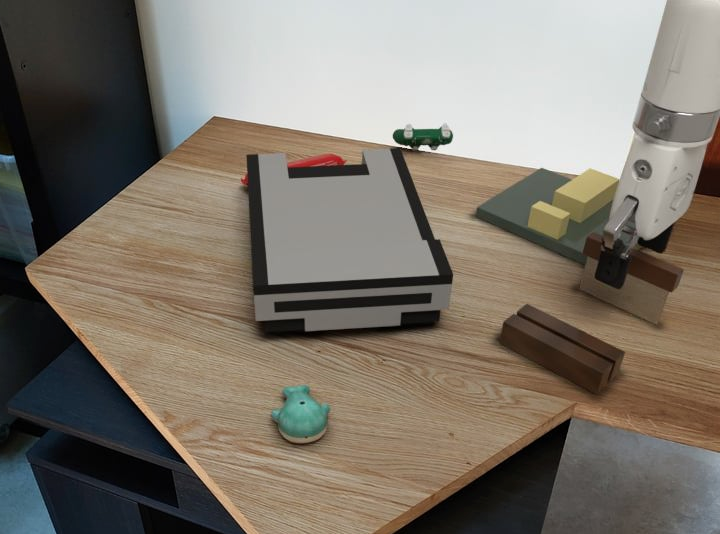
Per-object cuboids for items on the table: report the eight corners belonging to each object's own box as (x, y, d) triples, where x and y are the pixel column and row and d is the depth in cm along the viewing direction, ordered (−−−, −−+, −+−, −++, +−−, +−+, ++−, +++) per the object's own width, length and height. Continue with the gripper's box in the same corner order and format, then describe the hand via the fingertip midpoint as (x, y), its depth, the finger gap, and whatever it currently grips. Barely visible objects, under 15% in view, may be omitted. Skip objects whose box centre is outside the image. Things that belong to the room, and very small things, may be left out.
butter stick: (614, 199, 107) (619, 178, 105) (580, 223, 102) (585, 202, 100) (585, 187, 109) (590, 168, 107) (550, 211, 104) (554, 190, 102)
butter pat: (565, 233, 100) (570, 213, 98) (557, 239, 99) (562, 219, 97) (535, 221, 102) (540, 200, 100) (527, 226, 101) (531, 206, 99)
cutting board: (667, 226, 104) (670, 216, 103) (607, 275, 96) (610, 265, 95) (539, 176, 114) (541, 167, 113) (475, 216, 106) (476, 206, 105)
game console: (397, 194, 110) (400, 139, 104) (445, 335, 86) (453, 274, 81) (249, 201, 108) (245, 145, 103) (257, 347, 85) (253, 285, 79)
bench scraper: (664, 323, 89) (684, 269, 84) (658, 329, 88) (678, 274, 83) (579, 284, 94) (593, 231, 89) (572, 289, 93) (586, 236, 88)
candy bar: (349, 155, 112) (349, 175, 114) (338, 145, 115) (337, 164, 117) (247, 179, 107) (248, 199, 109) (236, 168, 109) (238, 188, 111)
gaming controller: (392, 156, 123) (397, 143, 117) (391, 132, 123) (396, 118, 117) (450, 155, 123) (458, 142, 117) (449, 131, 123) (457, 117, 117)
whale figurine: (274, 451, 73) (273, 423, 71) (267, 398, 79) (266, 370, 76) (335, 445, 74) (336, 416, 72) (325, 393, 79) (324, 365, 77)
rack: (618, 373, 82) (625, 351, 80) (596, 395, 80) (603, 373, 78) (522, 324, 88) (526, 303, 86) (498, 343, 86) (503, 321, 84)
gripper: (672, 158, 69) (622, 313, 81) (750, 102, 78) (695, 248, 90) (596, 132, 73) (559, 283, 84) (679, 82, 82) (636, 224, 94)
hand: (629, 265), depth 87 cm, fingers open, 9 cm apart
